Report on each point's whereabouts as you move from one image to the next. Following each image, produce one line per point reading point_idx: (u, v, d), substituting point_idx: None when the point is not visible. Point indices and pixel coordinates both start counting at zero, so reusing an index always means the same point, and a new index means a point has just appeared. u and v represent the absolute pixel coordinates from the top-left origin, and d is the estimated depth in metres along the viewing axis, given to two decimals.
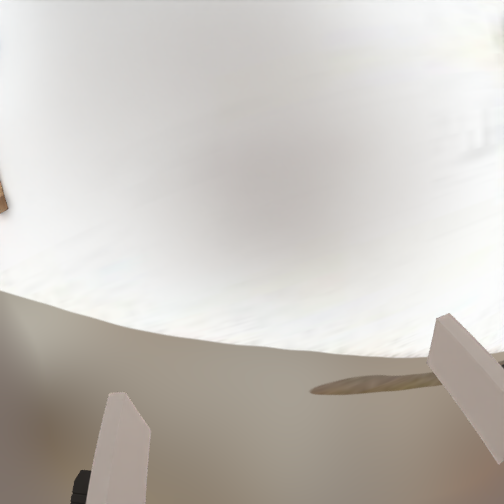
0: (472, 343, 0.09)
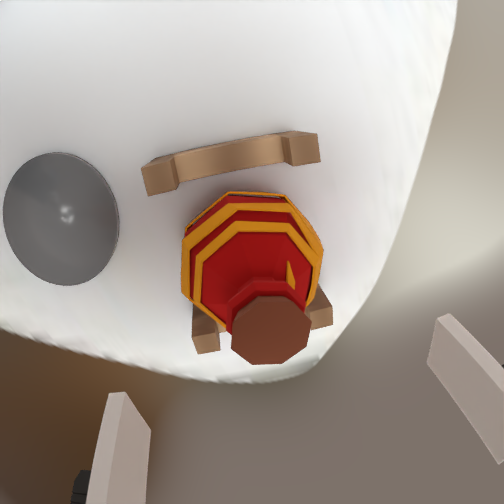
0: (472, 343, 0.09)
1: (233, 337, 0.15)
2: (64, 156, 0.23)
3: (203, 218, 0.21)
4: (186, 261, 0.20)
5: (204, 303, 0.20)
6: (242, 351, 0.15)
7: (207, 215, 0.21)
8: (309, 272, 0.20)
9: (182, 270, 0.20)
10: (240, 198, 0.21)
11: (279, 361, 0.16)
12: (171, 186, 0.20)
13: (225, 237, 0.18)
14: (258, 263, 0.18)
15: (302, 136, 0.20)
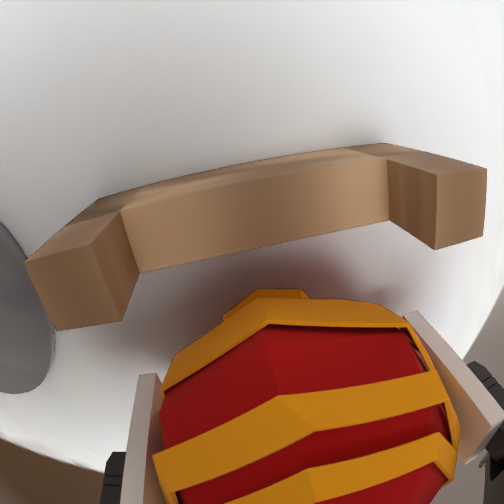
0: (437, 340, 0.10)
1: None
2: None
3: (202, 393, 0.07)
4: (170, 499, 0.06)
5: None
6: None
7: (213, 389, 0.07)
8: None
9: (163, 493, 0.07)
10: (304, 349, 0.07)
11: None
12: (108, 312, 0.07)
13: None
14: None
15: (461, 173, 0.07)
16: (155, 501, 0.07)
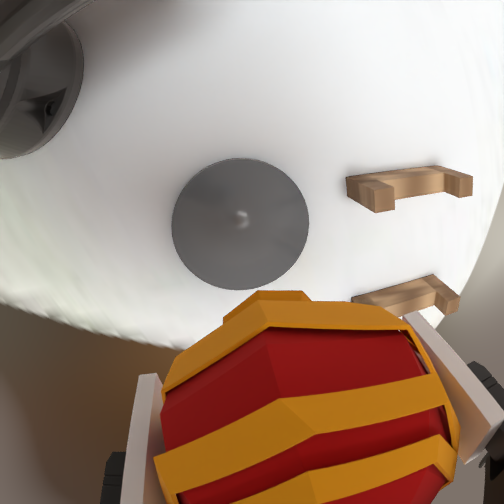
0: (437, 340, 0.10)
1: None
2: (264, 164, 0.28)
3: (203, 395, 0.07)
4: (171, 501, 0.06)
5: None
6: None
7: (213, 391, 0.07)
8: None
9: (164, 495, 0.07)
10: (305, 352, 0.07)
11: None
12: (392, 206, 0.25)
13: None
14: None
15: (465, 177, 0.25)
16: (155, 501, 0.07)
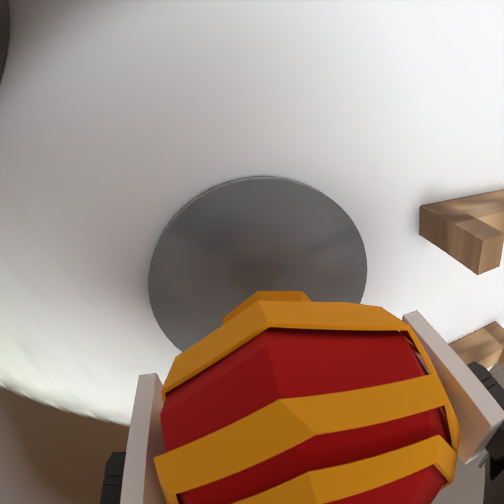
0: (437, 340, 0.10)
1: None
2: (304, 187, 0.16)
3: (203, 396, 0.07)
4: (171, 501, 0.06)
5: None
6: None
7: (213, 392, 0.07)
8: None
9: (164, 495, 0.07)
10: (305, 352, 0.07)
11: None
12: (497, 262, 0.14)
13: None
14: None
15: None
16: (155, 501, 0.07)
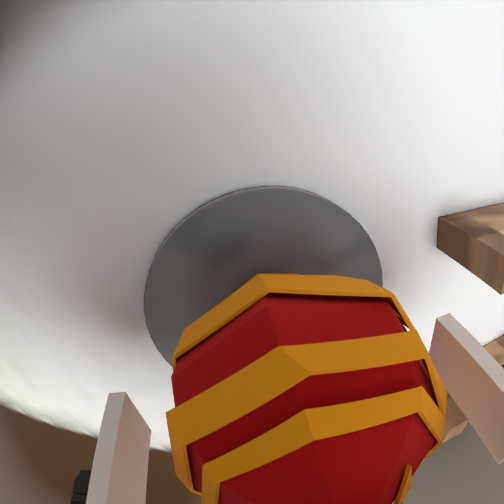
0: (472, 343, 0.09)
1: None
2: (317, 199, 0.14)
3: (211, 354, 0.09)
4: (181, 456, 0.07)
5: None
6: None
7: (221, 350, 0.09)
8: None
9: (174, 455, 0.08)
10: (300, 312, 0.08)
11: None
12: None
13: (280, 450, 0.06)
14: (352, 490, 0.06)
15: None
16: None
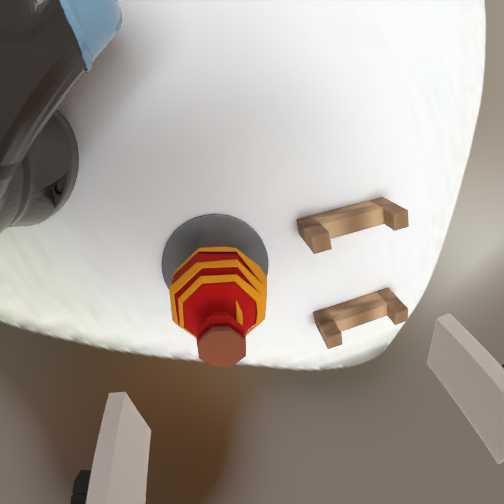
0: (472, 343, 0.09)
1: (199, 351, 0.25)
2: (227, 218, 0.36)
3: (182, 270, 0.31)
4: (173, 301, 0.29)
5: (186, 328, 0.29)
6: (206, 359, 0.25)
7: (185, 268, 0.31)
8: (254, 304, 0.29)
9: (171, 306, 0.30)
10: (205, 256, 0.30)
11: (230, 364, 0.26)
12: (329, 247, 0.33)
13: (195, 287, 0.28)
14: (216, 303, 0.28)
15: (400, 212, 0.33)
16: None
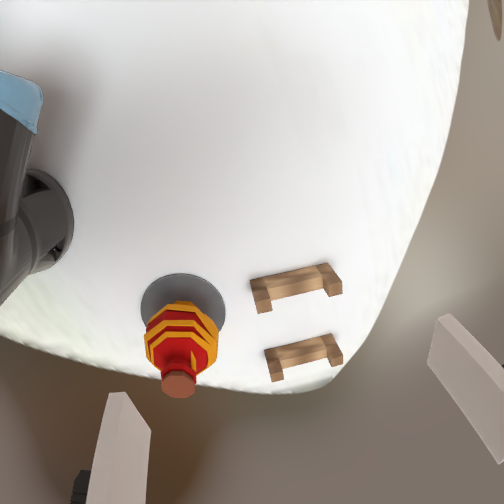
0: (472, 343, 0.09)
1: (162, 387, 0.33)
2: (192, 278, 0.45)
3: (154, 322, 0.39)
4: (146, 345, 0.38)
5: (156, 365, 0.38)
6: (167, 392, 0.33)
7: (156, 321, 0.39)
8: (205, 353, 0.38)
9: (145, 348, 0.39)
10: (171, 314, 0.39)
11: (184, 397, 0.34)
12: (270, 309, 0.42)
13: (161, 339, 0.36)
14: (176, 352, 0.36)
15: (334, 283, 0.42)
16: None
